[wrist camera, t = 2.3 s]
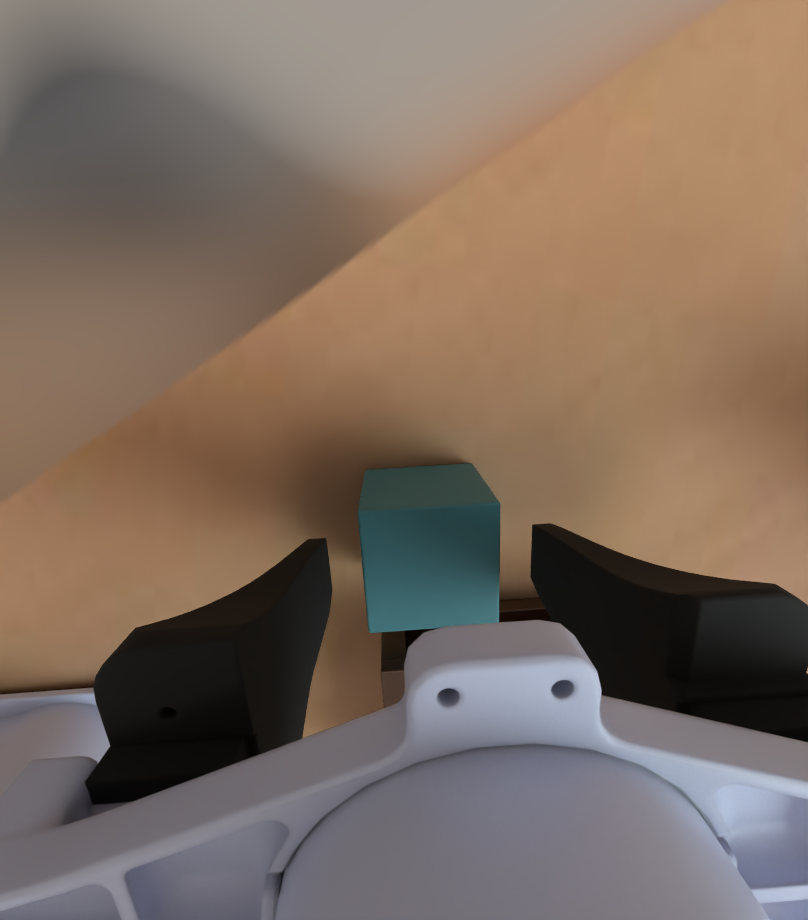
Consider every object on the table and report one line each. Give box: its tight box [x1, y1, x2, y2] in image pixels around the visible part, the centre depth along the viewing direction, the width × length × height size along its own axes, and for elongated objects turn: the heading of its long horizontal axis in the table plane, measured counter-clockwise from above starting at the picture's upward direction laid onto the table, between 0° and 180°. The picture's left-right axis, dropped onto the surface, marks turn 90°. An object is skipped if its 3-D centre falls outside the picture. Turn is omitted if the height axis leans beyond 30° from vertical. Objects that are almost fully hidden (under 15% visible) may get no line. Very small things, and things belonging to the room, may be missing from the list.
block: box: [357, 463, 500, 633], centre depth 15 cm, size 4×4×4 cm
